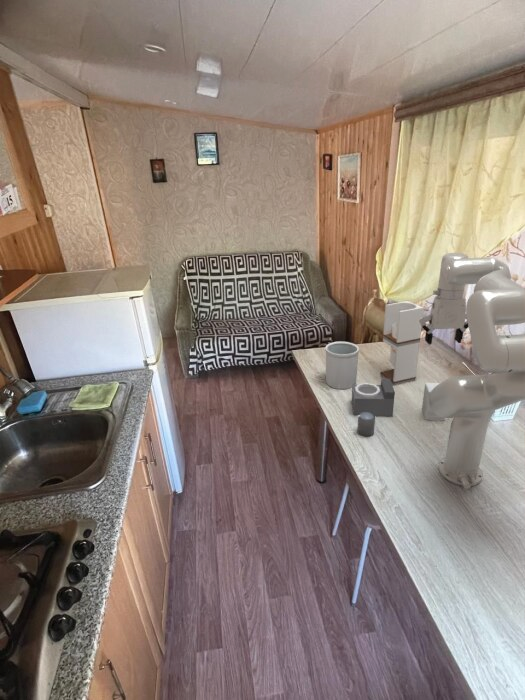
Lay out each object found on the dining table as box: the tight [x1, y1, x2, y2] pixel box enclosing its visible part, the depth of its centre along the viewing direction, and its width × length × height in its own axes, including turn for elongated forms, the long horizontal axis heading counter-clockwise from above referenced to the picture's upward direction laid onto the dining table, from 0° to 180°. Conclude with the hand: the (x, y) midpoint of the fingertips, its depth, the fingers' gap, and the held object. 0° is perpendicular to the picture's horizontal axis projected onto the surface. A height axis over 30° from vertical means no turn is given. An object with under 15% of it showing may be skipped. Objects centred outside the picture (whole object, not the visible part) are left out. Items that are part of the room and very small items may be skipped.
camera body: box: [351, 377, 396, 417], centre depth 157 cm, size 11×15×11 cm
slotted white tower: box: [380, 300, 425, 387], centre depth 173 cm, size 11×11×35 cm
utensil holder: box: [324, 341, 360, 390], centre depth 177 cm, size 15×15×18 cm
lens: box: [357, 412, 376, 438], centre depth 144 cm, size 6×6×7 cm
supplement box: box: [421, 382, 446, 422], centre depth 149 cm, size 7×7×13 cm
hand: (443, 342), depth 131 cm, fingers open, 9 cm apart
